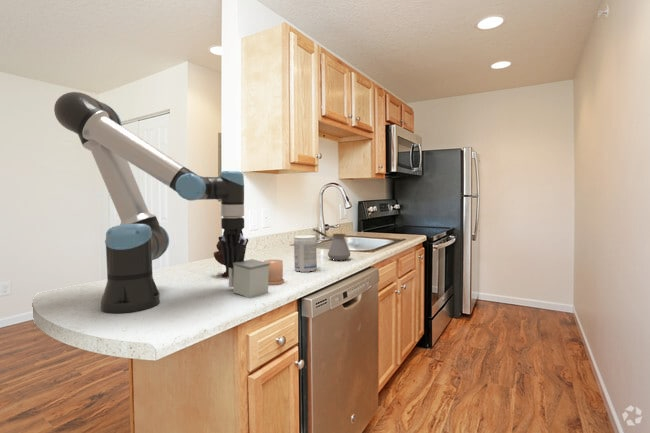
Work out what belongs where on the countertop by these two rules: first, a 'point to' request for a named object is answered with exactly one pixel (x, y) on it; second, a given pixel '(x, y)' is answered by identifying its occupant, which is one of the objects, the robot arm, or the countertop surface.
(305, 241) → the supplement tub
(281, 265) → the terracotta pot
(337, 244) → the coffee pot
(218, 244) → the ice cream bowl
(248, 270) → the grey tub
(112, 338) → the countertop surface
